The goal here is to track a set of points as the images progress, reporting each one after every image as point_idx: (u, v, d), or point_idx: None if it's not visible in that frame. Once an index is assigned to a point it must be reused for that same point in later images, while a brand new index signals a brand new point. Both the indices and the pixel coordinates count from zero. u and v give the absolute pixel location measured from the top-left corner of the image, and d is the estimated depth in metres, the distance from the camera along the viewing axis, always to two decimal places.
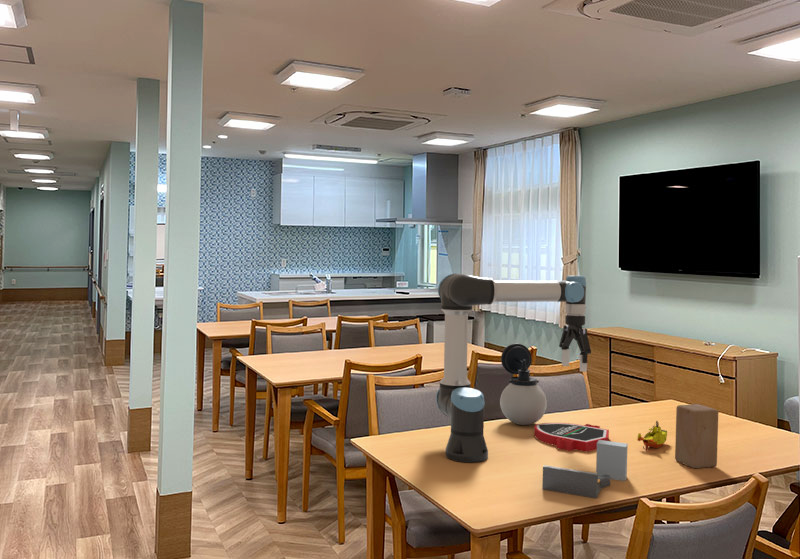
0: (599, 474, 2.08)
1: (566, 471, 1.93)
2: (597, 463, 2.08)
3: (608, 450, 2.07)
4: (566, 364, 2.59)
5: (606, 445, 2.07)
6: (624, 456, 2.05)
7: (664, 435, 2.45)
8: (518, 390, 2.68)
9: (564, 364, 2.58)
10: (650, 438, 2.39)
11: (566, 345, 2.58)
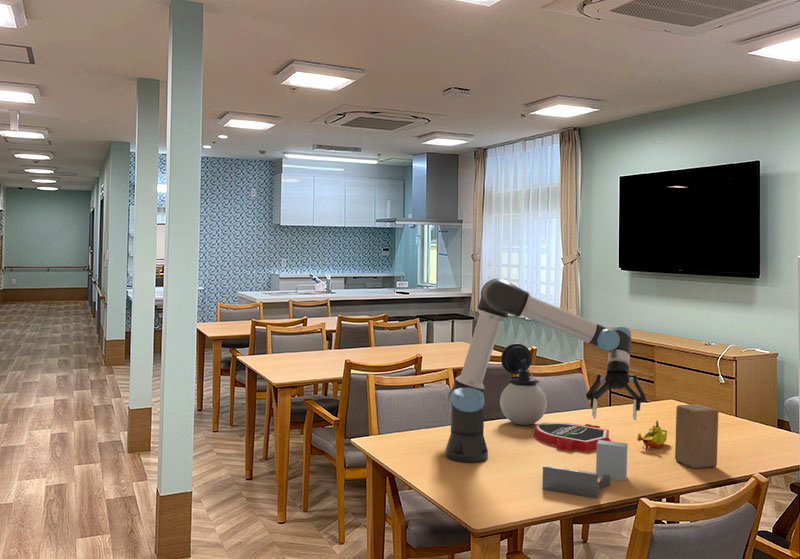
0: (599, 474, 2.08)
1: (566, 471, 1.93)
2: (597, 463, 2.08)
3: (608, 450, 2.07)
4: (595, 415, 2.26)
5: (606, 445, 2.07)
6: (624, 456, 2.05)
7: (664, 435, 2.45)
8: (518, 390, 2.68)
9: (594, 414, 2.25)
10: (650, 438, 2.39)
11: (598, 395, 2.29)
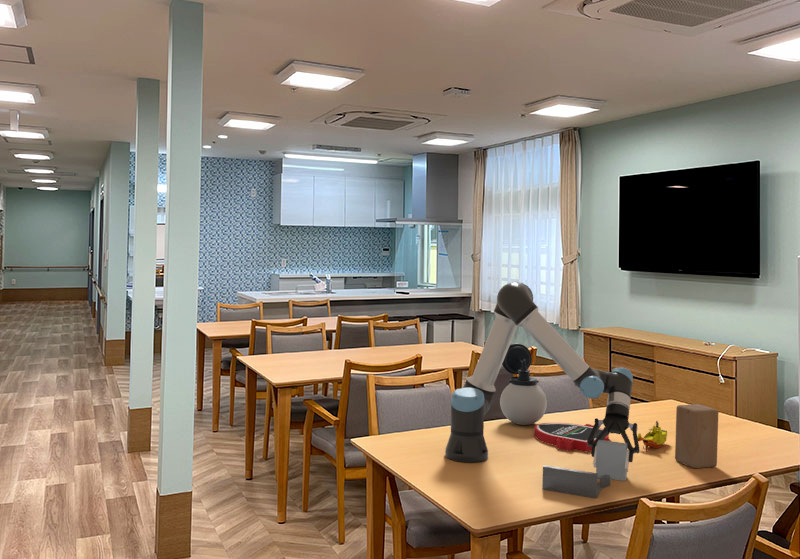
0: (599, 474, 2.08)
1: (566, 471, 1.93)
2: (597, 463, 2.08)
3: (608, 449, 2.07)
4: None
5: (606, 445, 2.07)
6: (624, 456, 2.05)
7: (664, 435, 2.45)
8: (518, 390, 2.68)
9: (595, 463, 2.08)
10: (650, 438, 2.39)
11: None
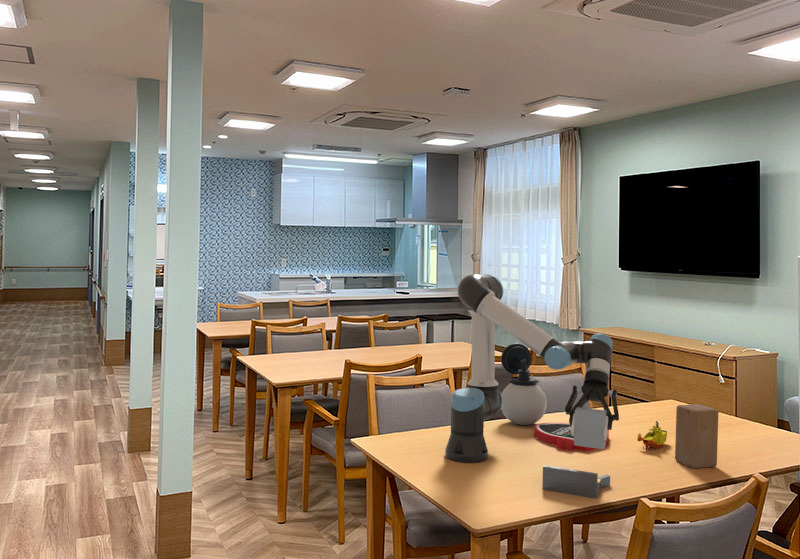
0: (577, 442, 1.99)
1: (566, 471, 1.93)
2: (575, 431, 2.00)
3: (587, 417, 1.98)
4: (573, 432, 1.99)
5: (584, 412, 1.98)
6: (603, 424, 1.96)
7: (664, 435, 2.45)
8: (518, 390, 2.68)
9: (573, 431, 1.99)
10: (650, 438, 2.39)
11: None
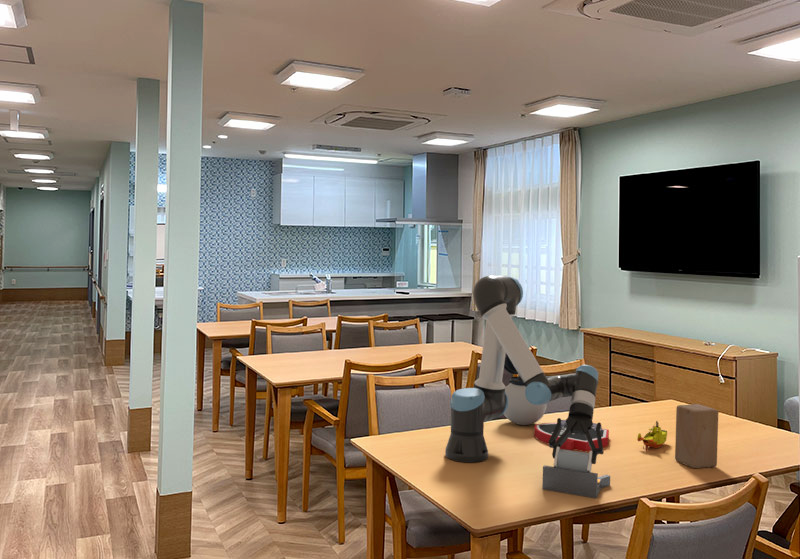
0: None
1: (566, 471, 1.93)
2: None
3: (570, 460, 1.95)
4: (557, 466, 1.97)
5: (567, 455, 1.96)
6: (586, 467, 1.93)
7: (664, 435, 2.45)
8: (518, 390, 2.68)
9: (556, 465, 1.96)
10: (650, 438, 2.39)
11: (561, 442, 2.02)
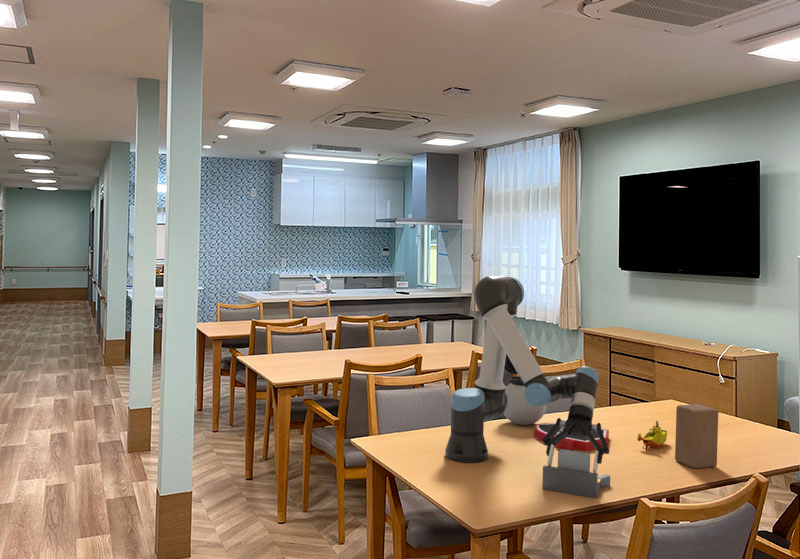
0: None
1: (566, 471, 1.93)
2: None
3: (570, 460, 1.95)
4: (550, 464, 1.99)
5: (567, 455, 1.96)
6: (586, 467, 1.93)
7: (664, 435, 2.45)
8: (518, 390, 2.68)
9: (550, 462, 1.98)
10: (650, 438, 2.39)
11: (556, 441, 2.03)
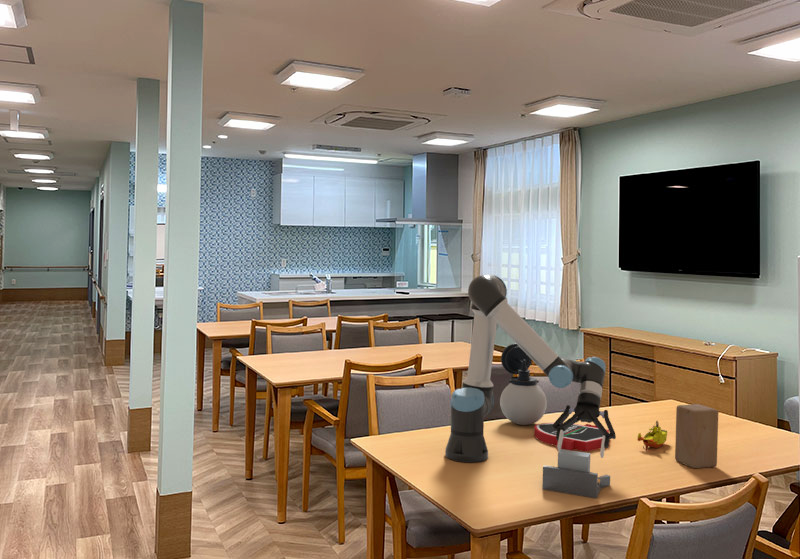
0: None
1: (566, 471, 1.93)
2: None
3: (570, 460, 1.95)
4: (560, 448, 2.11)
5: (567, 455, 1.96)
6: (586, 467, 1.93)
7: (664, 435, 2.45)
8: (518, 390, 2.68)
9: (559, 446, 2.10)
10: (650, 438, 2.39)
11: (565, 427, 2.15)
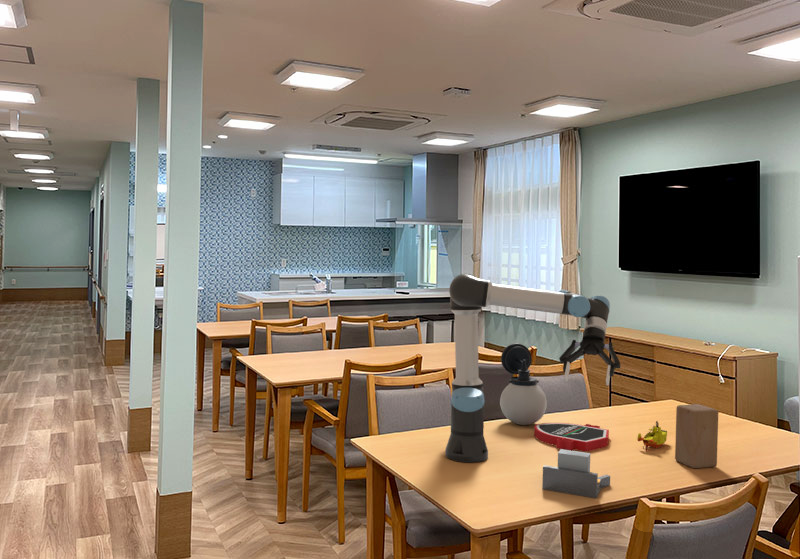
0: None
1: (566, 471, 1.93)
2: None
3: (570, 460, 1.95)
4: (567, 378, 2.19)
5: (567, 455, 1.96)
6: (586, 467, 1.93)
7: (664, 435, 2.45)
8: (518, 390, 2.68)
9: (566, 376, 2.18)
10: (650, 438, 2.39)
11: (571, 359, 2.23)
